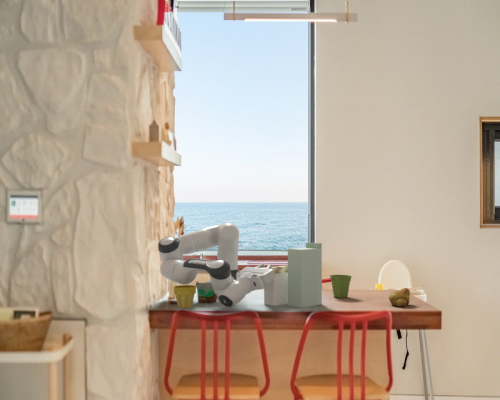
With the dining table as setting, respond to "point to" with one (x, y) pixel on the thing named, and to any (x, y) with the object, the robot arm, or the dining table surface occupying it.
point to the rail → (280, 269)
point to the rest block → (277, 290)
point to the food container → (205, 293)
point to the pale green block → (305, 276)
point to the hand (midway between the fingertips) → (267, 265)
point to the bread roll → (400, 297)
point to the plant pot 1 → (184, 295)
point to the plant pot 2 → (340, 285)
